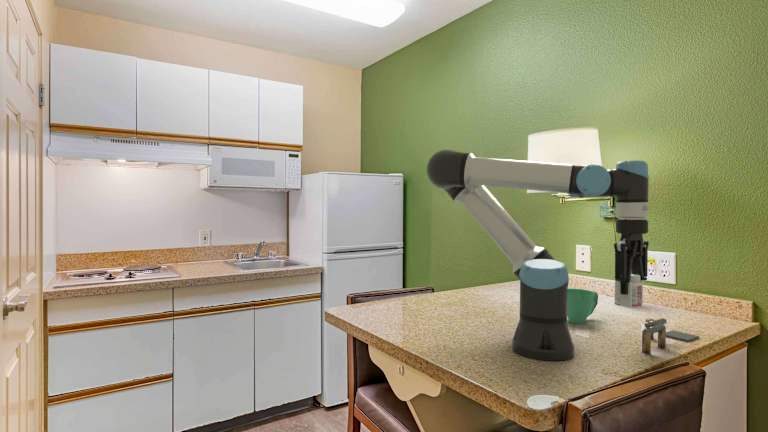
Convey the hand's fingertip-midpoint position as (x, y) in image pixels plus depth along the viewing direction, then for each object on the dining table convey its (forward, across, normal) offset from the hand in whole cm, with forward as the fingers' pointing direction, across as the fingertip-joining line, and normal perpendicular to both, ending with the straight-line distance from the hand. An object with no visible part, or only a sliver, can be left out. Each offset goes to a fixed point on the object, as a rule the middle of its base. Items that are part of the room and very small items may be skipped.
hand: (631, 304), depth 117 cm
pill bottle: (+1, 0, 0) cm, 1 cm away
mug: (+12, +14, +23) cm, 30 cm away
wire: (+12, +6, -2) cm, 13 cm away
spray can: (+12, +51, +29) cm, 60 cm away
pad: (+12, +22, -3) cm, 25 cm away
